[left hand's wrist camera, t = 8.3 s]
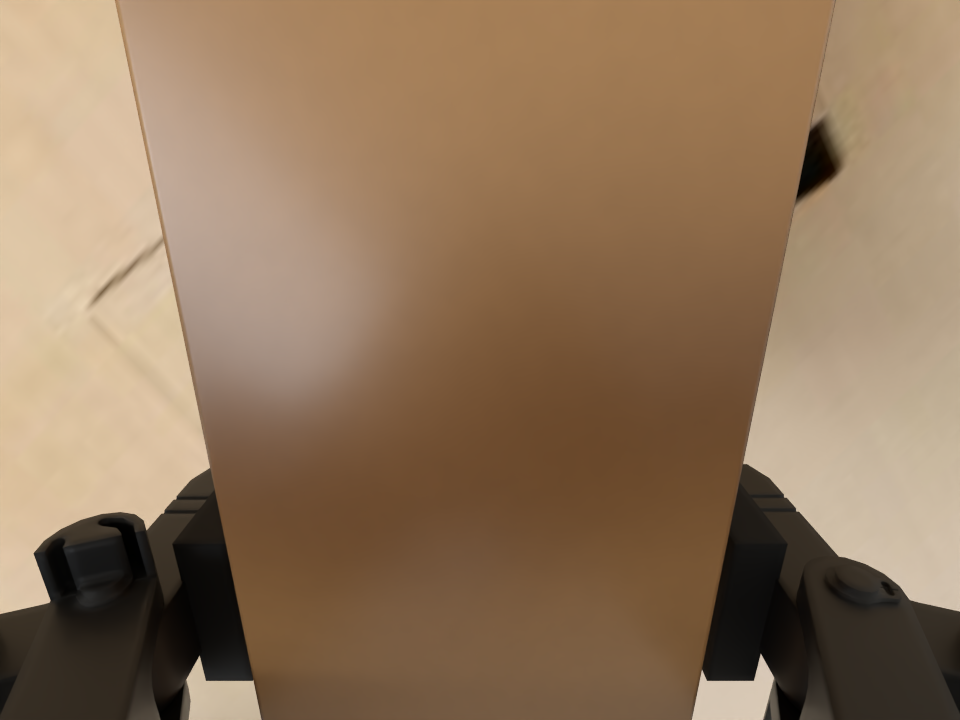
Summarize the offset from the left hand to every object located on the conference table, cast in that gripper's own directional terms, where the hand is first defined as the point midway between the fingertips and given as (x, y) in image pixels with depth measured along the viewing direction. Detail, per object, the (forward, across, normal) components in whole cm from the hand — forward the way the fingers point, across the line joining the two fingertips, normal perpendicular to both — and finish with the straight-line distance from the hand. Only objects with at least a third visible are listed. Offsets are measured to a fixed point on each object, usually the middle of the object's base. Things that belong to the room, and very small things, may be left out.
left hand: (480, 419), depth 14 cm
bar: (+1, 0, -11) cm, 11 cm away
